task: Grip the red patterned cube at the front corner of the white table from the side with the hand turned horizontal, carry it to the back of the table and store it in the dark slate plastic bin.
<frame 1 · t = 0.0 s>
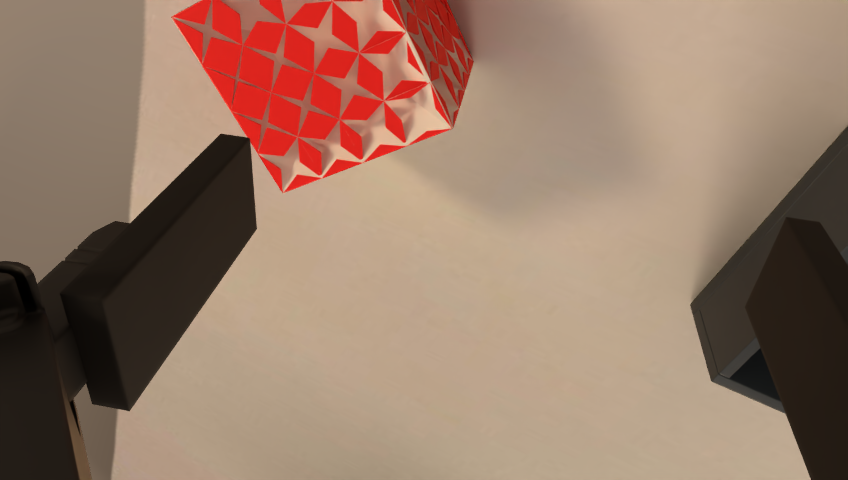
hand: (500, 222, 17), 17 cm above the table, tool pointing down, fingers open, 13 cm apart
red patterned cube: (365, 16, 31), on the table
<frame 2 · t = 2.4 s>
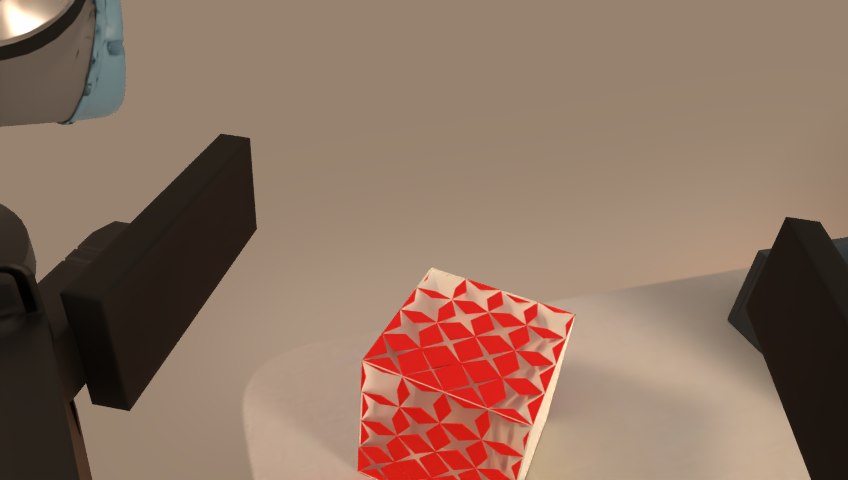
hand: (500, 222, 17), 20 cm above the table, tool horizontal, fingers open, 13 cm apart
red patterned cube: (456, 446, 36), on the table
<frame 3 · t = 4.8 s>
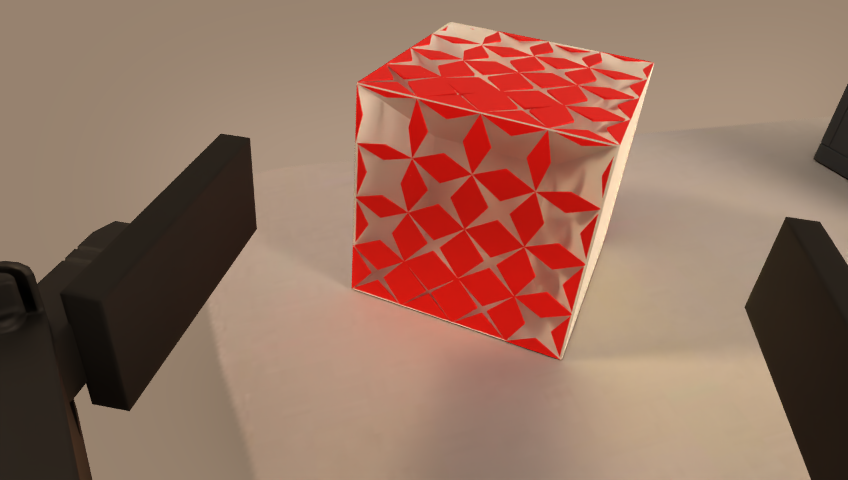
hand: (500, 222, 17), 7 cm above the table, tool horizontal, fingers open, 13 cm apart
red patterned cube: (486, 268, 26), on the table
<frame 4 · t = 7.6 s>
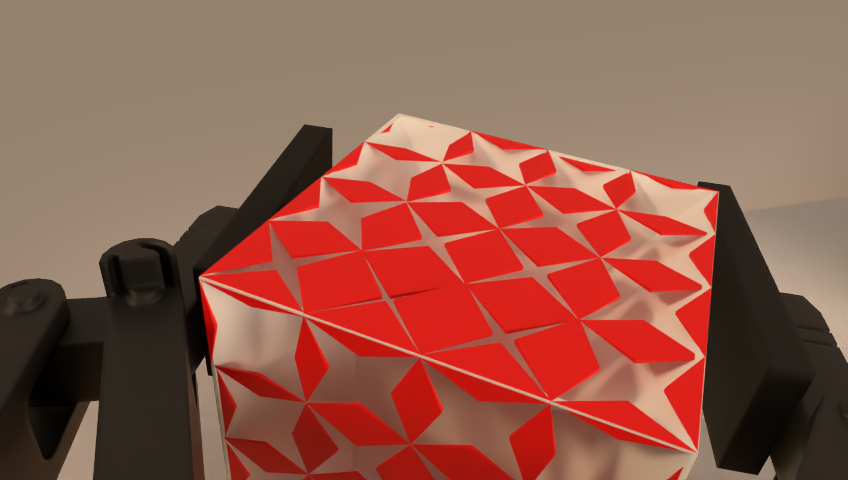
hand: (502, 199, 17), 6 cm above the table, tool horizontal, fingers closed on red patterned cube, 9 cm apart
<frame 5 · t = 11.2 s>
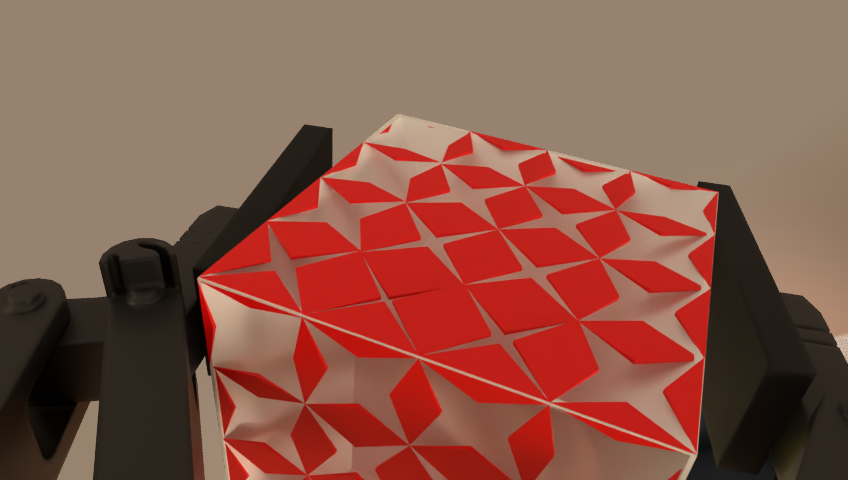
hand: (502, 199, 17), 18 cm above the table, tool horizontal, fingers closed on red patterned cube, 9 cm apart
when the fingers open (12 cm above the table, at t = 15.0 s): red patterned cube stays where it is, resting on bin.
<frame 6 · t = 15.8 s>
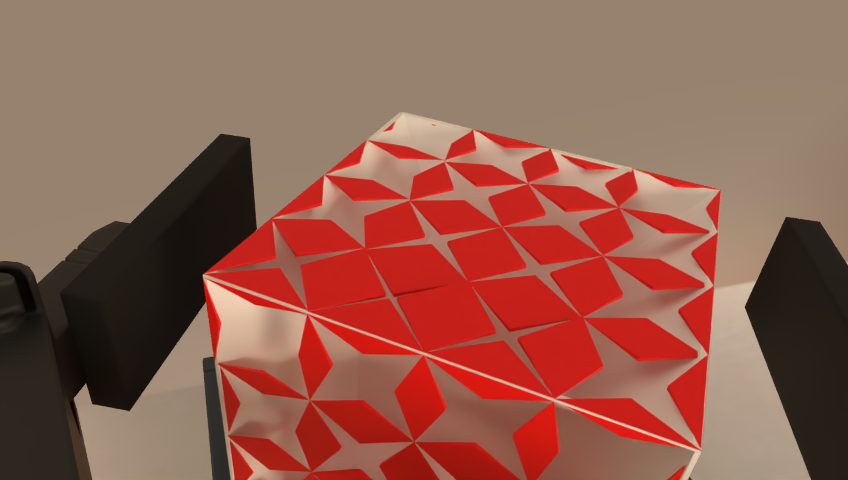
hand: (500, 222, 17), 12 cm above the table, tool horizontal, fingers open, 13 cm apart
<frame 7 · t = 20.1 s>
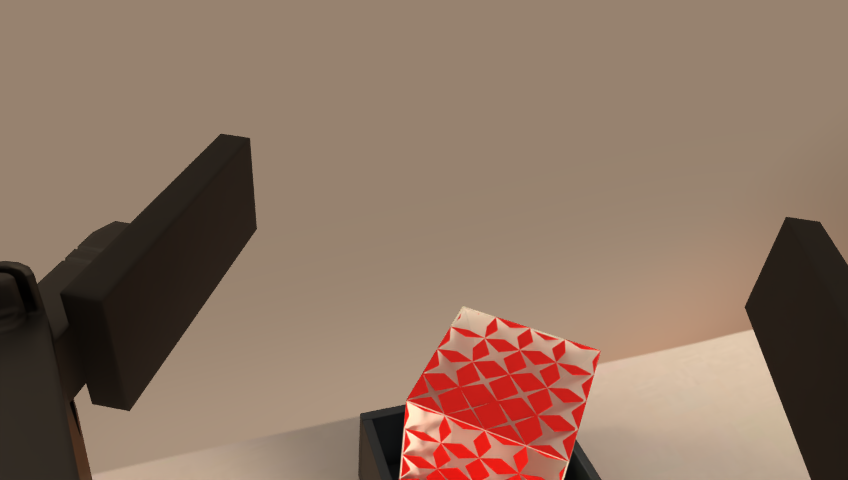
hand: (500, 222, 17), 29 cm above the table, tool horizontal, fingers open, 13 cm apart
red patterned cube: (488, 474, 38), point 6 cm above the table, touching bin
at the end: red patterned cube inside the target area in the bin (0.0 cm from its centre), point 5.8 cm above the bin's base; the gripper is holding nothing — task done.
